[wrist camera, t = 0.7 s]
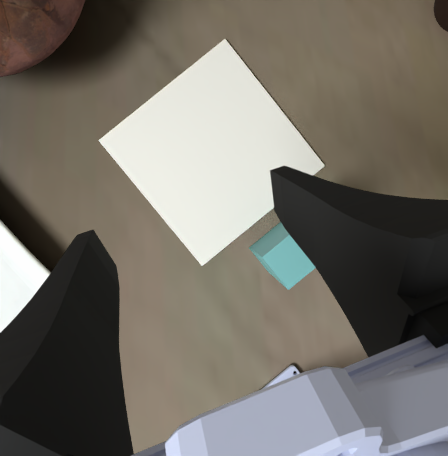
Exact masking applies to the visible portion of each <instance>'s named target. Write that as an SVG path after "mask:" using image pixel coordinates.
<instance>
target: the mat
mask: <svg viewBox="0 0 448 456" xmlns="http://www.w3.org/2000/svg"><path fill="white" fill-rule="evenodd" d="M99 142H100V143H101V144H102V145H103V146H104V148H105V149H106V150H107V151H108V152H109V154H110V155H111V156H112V157H113V159H114V160H115V161H116V162H117V163H118V165H119V166H120V167H121V168H122V169H123V171H124V172H125V173H126V174H127V176H128V177H129V178H130V179H131V180H132V182H133V183H134V184H135V185H136V186H137V188H138V189H139V190H140V191H141V193H142V194H143V195H144V196H145V197H146V199H147V200H148V201H149V202H150V203H151V205H152V206H153V207H154V208H155V210H156V211H157V212H158V213H159V214H160V216H161V217H162V218H163V219H164V220H165V222H166V223H167V224H168V225H169V226H170V228H171V229H172V230H173V231H174V233H175V234H176V235H177V236H178V237H179V239H180V240H181V241H182V242H183V243H184V245H185V246H186V247H187V248H188V250H189V251H190V252H191V253H192V254H193V256H194V257H195V258H196V259H197V260H198V262H199V263H200V264H201V265H202V266H203V265H204V264H205V263H207V262H208V261H209V260H210V259H212V258H213V257H214V256H215V255H216V254H218V253H219V252H220V251H221V250H223V249H224V248H225V247H226V246H227V245H229V244H230V243H231V242H232V241H234V240H235V239H236V238H237V237H238V236H240V235H241V234H242V233H243V232H245V231H246V230H247V229H248V228H249V227H251V226H252V225H253V224H254V223H256V222H257V221H258V220H259V219H260V218H262V217H263V216H264V215H265V214H267V213H268V212H269V211H270V210H271V209H273V208H274V202H273V193H272V184H271V176H270V170H272V169H275V168H278V167H281V166H287V167H290V168H293V169H296V170H299V171H302V172H304V173H307V174H310V175H314V174H316V173H317V172H318V171H319V170H320V169H322V168H323V167H324V166H325V165H324V164H323V163H322V161H321V160H320V159H319V157H318V156H317V155H316V154H315V152H314V151H313V150H312V149H311V147H310V146H309V145H308V143H307V142H306V141H305V140H304V138H303V137H302V136H301V135H300V133H299V132H298V131H297V129H296V128H295V127H294V126H293V124H292V123H291V122H290V121H289V119H288V118H287V117H286V116H285V114H284V113H283V112H282V110H281V109H280V108H279V107H278V105H277V104H276V103H275V102H274V100H273V99H272V98H271V96H270V95H269V94H268V93H267V91H266V90H265V89H264V88H263V86H262V85H261V84H260V82H259V81H258V80H257V79H256V77H255V76H254V75H253V74H252V72H251V71H250V70H249V68H248V67H247V66H246V65H245V63H244V62H243V61H242V60H241V58H240V57H239V56H238V54H237V53H236V52H235V51H234V49H233V48H232V47H231V46H230V44H229V43H228V42H227V40H226V39H224V40H223V41H222V42H221V43H219V44H218V45H217V46H216V47H214V48H213V49H212V50H211V51H209V52H208V53H207V54H206V55H204V56H203V57H202V58H201V59H199V60H198V61H197V62H196V63H194V64H193V65H192V66H191V67H189V68H188V69H187V70H186V71H184V72H183V73H182V74H181V75H179V76H178V77H177V78H176V79H174V80H173V81H172V82H171V83H169V84H168V85H167V86H166V87H164V88H163V89H162V90H161V91H159V92H158V93H157V94H156V95H154V96H153V97H152V98H151V99H149V100H148V101H147V102H146V103H145V104H143V105H142V106H141V107H140V108H138V109H137V110H136V111H135V112H133V113H132V114H131V115H130V116H128V117H127V118H126V119H125V120H123V121H122V122H121V123H120V124H118V125H117V126H116V127H115V128H113V129H112V130H111V131H110V132H108V133H107V134H106V135H105V136H103V137H102V138H101V139H100V140H99Z"/></svg>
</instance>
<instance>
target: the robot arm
mask: <svg viewBox="0 0 448 456" xmlns="http://www.w3.org/2000/svg"><path fill="white" fill-rule="evenodd" d="M270 176H271V184H272V193H273V202H274V210H275V212H276V214H277V216H278V218H279V219H280V221H281V223H282V225H283V226H284V228H285V229H286V231H287V232H288V233H289V235H290V236H291V237H292V238H293V240H294V241H295V242H296V243H297V245H298V246H299V247H300V248H301V250H302V251H303V252H304V253H305V255H306V256H307V257H308V258H309V260H310V261H311V262H312V263H313V265H314V266H315V267H316V269H317V270H318V271H319V273H320V274H321V276H322V277H323V279H324V281H325V282H326V284H327V285H328V287H329V288H330V290H331V292H332V293H333V295H334V297H335V298H336V300H337V302H338V303H339V305H340V307H341V308H342V310H343V312H344V313H345V315H346V317H347V319H348V320H349V322H350V324H351V326H352V328H353V329H354V331H355V333H356V335H357V336H358V338H359V340H360V342H361V344H362V346H363V348H364V350H365V352H366V353H367V355H368V357H369V358H366V359H364V360H361V361H359V362H356V363H354V364H352V365H349V366H347V367H344V368H338V367H327V366H324V367H320V368H316V369H313V370H309V371H306V372H303V373H300V372H299V371H298V369H297V368H296V367H295V366H294V365H290V366H289V367H288V368H286V369H285V370H284V371H283V372H282V373H280V374H279V375H278V376H277V377H275V378H274V379H273V380H272V381H271V382H269V383H268V384H267V385H266V386H265V387H263V388H262V389H261V390H259V391H256V392H254V393H251V394H249V395H246V396H244V397H241V398H239V399H237V400H234V401H232V402H229V403H227V404H224V405H222V406H219V407H217V408H215V409H212V410H210V411H207V412H205V413H202V414H200V415H198V416H196V417H195V418H193V419H191V420H189V421H187V422H185V423H184V424H182V425H180V426H179V427H178V428H177V429H176V430H175V432H174V433H173V434H172V435H171V436H170V437H169V438H168V440H167V441H165V442H162V443H160V444H158V445H155V446H153V447H150V448H148V449H146V450H143V451H141V452H138V453H136V454H134V453H133V447H132V442H131V436H130V430H129V424H128V418H127V411H126V404H125V397H124V389H123V381H122V373H121V363H120V353H119V281H118V274H117V267H116V265H115V263H114V261H113V260H112V258H111V257H110V255H109V254H108V252H107V250H106V249H105V247H104V246H103V244H102V243H101V241H100V239H99V238H98V236H97V235H96V233H95V232H94V230H90V231H87V232H84V233H81V234H78V235H77V236H76V237H75V238H74V240H73V241H72V243H71V244H70V246H69V247H68V248H67V250H66V251H65V253H64V254H63V256H62V257H61V259H60V260H59V262H58V263H57V265H56V266H55V268H54V269H53V271H52V272H51V273H50V275H49V276H48V277H47V279H46V280H45V281H44V283H43V284H42V285H41V287H40V288H39V289H38V291H37V292H36V293H35V295H34V296H33V297H32V298H31V300H30V301H29V302H28V303H27V304H26V306H25V307H24V308H23V309H22V310H21V311H20V312H19V314H18V315H17V316H16V317H15V318H14V319H13V320H12V321H11V322H10V323H9V324H8V326H7V327H6V328H4V329H3V330H2V331H1V332H0V456H448V200H435V199H419V198H407V197H399V196H391V195H384V194H378V193H373V192H368V191H363V190H359V189H354V188H350V187H347V186H343V185H340V184H336V183H333V182H330V181H327V180H324V179H321V178H318V177H315V176H313V175H310V174H307V173H304V172H302V171H299V170H296V169H293V168H290V167H287V166H281V167H278V168H275V169H272V170H270ZM294 371H296V373H295V374H293V372H294Z"/></svg>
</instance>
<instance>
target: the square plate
mask: <svg viewBox="0 0 448 456" xmlns="http://www.w3.org/2000/svg"><path fill="white" fill-rule="evenodd" d="M50 273H51V272H50V271H49V270H48V269H47V268H46V267H45V266H44V265H43V264H42V263H41V262H40V261H39V260H38V259H37V258H36V257H35V256H34V255H33V254H32V253H31V252H30V251H29V250H28V249H27V248H26V247H25V246H24V245H23V244H22V243H21V242H20V241H19V240H18V239H17V237H16V236H15V235H14V234H13V233H12V232H11V231H10V230H9V229H8V228H7V227H6V226H5V225H4V223H3V222H2V221H1V220H0V332H1V331H2V330H3V329H4V328H6V327H7V326H8V324H9V323H10V322H11V321H12V320H13V319H14V318H15V317H16V316H17V315H18V314H19V312H20V311H21V310H22V309H23V308H24V307H25V306H26V304H27V303H28V302H29V301H30V300H31V298H32V297H33V296H34V295H35V293H36V292H37V291H38V289H39V288H40V287H41V285H42V284H43V283H44V281H45V280H46V279H47V277H48V276H49V275H50Z"/></svg>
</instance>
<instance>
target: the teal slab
mask: <svg viewBox="0 0 448 456" xmlns="http://www.w3.org/2000/svg"><path fill="white" fill-rule="evenodd" d="M249 249H250V250H251V251H252V252H253V254H254V255H255V256H256V257H257V258H258V260H259V261H260V262H261V263H262V265H263V266H264V267H265V268H266V270H267V271H268V272H269V273H270V274H271V275H272V276H274V277H275V278H276V279H277V280H278V281H279V282H280V283H281V284H282V285H284V286H285V287H286V288H287V289H288V290H289V289H290V288H291V287H293V286H294V285H295V284H296V283H297V282H299V281H300V280H301V279H302V278H304V277H305V276H306V275H307V274H308V273H310V272H311V271H312V270H313V269H314V268H316V267H315V266H314V265H313V263H312V262H311V261H310V260H309V258H308V257H307V256H306V255H305V253H304V252H303V251H302V250H301V248H300V247H299V246H298V245H297V243H296V242H295V241H294V240H293V238H292V237H291V236H290V235H289V233H288V232H287V231H286V229H285V228H284V226H283V225H282V223H281V222H280V223H279V224H277V225H276V226H275V227H274V228H273V229H271V230H270V231H269V232H268V233H266V234H265V235H264V236H263V237H262V238H260V239H259V240H258V241H257V242H255V243H254V244H253V245H252V246H251V247H249Z"/></svg>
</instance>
